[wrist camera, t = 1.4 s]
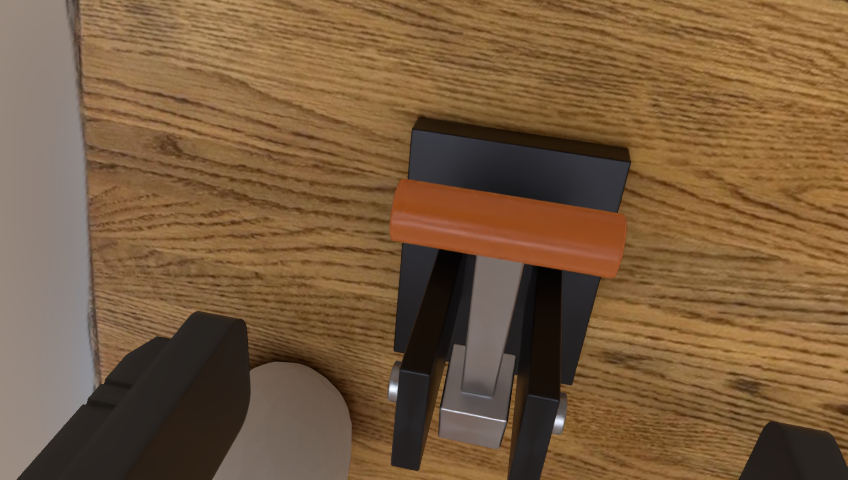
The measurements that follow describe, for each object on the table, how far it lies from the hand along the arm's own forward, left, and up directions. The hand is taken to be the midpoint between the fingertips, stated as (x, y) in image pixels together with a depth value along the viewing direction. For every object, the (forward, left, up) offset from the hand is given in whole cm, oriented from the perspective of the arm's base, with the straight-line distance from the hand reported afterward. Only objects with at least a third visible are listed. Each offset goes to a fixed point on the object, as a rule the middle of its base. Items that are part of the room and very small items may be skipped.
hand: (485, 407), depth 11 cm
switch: (+4, +1, -9) cm, 10 cm away
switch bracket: (+8, +3, -20) cm, 22 cm away
